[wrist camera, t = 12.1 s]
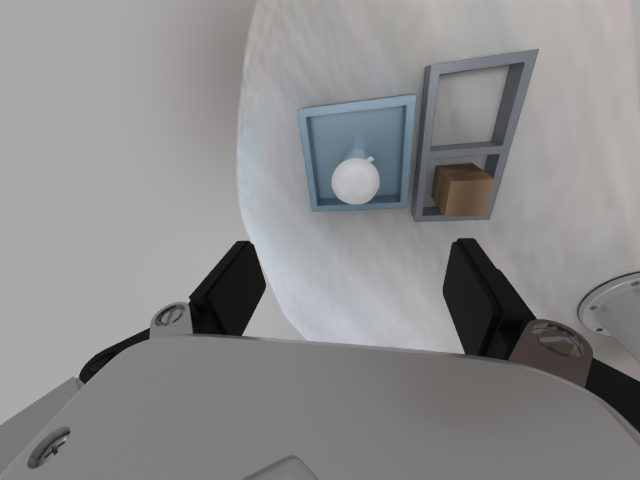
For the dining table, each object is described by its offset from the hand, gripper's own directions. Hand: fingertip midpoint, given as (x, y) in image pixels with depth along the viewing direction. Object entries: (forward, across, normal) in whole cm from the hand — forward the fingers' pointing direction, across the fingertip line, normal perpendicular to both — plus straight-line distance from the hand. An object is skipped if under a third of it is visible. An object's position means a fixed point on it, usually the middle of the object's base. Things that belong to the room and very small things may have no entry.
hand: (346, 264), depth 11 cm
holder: (+22, -11, 0) cm, 25 cm away
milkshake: (+22, 0, 0) cm, 22 cm away
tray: (+22, 0, 0) cm, 22 cm away
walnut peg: (+22, -11, +4) cm, 25 cm away
